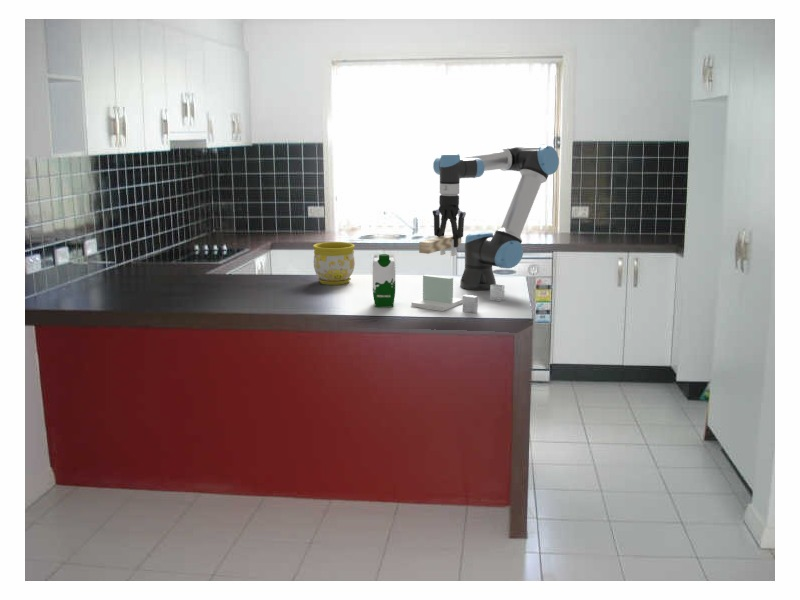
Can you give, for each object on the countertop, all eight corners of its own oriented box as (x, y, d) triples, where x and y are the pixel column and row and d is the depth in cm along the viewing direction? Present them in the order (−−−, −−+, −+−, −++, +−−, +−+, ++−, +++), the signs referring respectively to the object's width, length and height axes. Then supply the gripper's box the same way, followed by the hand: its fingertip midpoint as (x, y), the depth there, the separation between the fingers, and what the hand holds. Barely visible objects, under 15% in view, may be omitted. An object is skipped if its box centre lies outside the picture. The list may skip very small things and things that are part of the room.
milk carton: (372, 307, 315) (372, 256, 311) (372, 302, 324) (372, 252, 320) (395, 307, 316) (395, 256, 311) (395, 302, 325) (395, 252, 320)
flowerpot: (310, 279, 367) (309, 242, 364) (349, 277, 373) (349, 241, 369) (318, 287, 351) (317, 249, 347) (359, 285, 356) (359, 247, 352)
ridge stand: (432, 298, 331) (432, 271, 329) (463, 302, 324) (463, 275, 321) (411, 306, 318) (411, 278, 316) (443, 311, 311) (443, 282, 308)
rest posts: (492, 298, 331) (493, 284, 330) (504, 300, 328) (504, 285, 327) (462, 311, 310) (462, 295, 309) (474, 313, 307) (474, 297, 306)
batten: (452, 243, 327) (452, 233, 327) (461, 244, 325) (461, 234, 324) (419, 252, 306) (419, 242, 305) (428, 253, 304) (428, 242, 303)
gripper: (425, 194, 317) (424, 254, 323) (464, 196, 309) (463, 258, 314) (434, 192, 324) (433, 251, 329) (473, 195, 315) (472, 255, 320)
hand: (448, 254), depth 321 cm, fingers closed on batten, 4 cm apart
